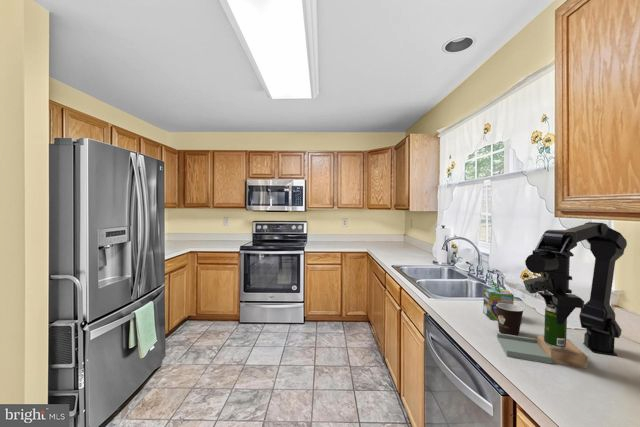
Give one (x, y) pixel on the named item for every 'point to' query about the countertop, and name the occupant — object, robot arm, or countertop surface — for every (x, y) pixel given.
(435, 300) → the countertop surface
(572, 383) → the countertop surface
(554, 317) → the beer can
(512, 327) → the coffee mug
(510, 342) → the grey-green tray
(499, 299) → the chalk box
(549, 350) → the tan block
